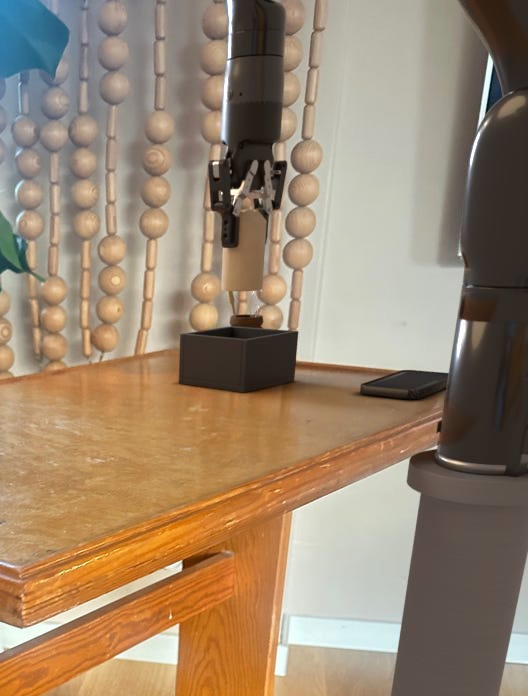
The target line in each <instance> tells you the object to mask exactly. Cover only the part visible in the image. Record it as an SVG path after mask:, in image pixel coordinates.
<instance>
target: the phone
mask: <svg viewBox="0 0 528 696" xmlns="http://www.w3.org/2000/svg"><path fill="white" fill-rule="evenodd" d="M448 374H449V372H442V371H430V370H429V371H428V370H417V369H401V370H399V371H396V372H393V373H390V374H387V375H383V376H380V377H378V378H375V379H371V380H369V381H367V382H366V381H365V382H363V383H361V384H360V388H359V394H360V395H365V396H366V395H367V396H376V397H385V398H395V399H405V400H418V399H422V398H424V397H426V396H429V395H431V394H434V393H436V392H439V391H441V390H444V389H446V387H447V380H448Z"/></svg>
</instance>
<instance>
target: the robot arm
mask: <svg viewBox="0 0 528 696" xmlns="http://www.w3.org/2000/svg"><path fill="white" fill-rule="evenodd" d="M456 2H457V4H458V5H459V7H460V8H461V10H462V12H463V13H464V15H465V17H466V18H467V20H468V22H469V23H470V24H471V26H472V28H473V29H474V31H475V32H476V34H477V36H478V37H479V38H480V40H481V42H482V44H483V45H484V47H485V49H486V50H487V53H488V54H489V56H490V58H491V61H492V63H493V66H494V69H495V71H496V75H497V78H498V81H499V85H500V89H501V95H502V97H501V98H500V99H498V100H497V101H496V102H495V103H494V104H493V105H492V106H491V107H490V108H489V110H488V111H487V112H486V113H485V115H484V116H483V118H482V119H481V122H480V123H479V126H478V128H477V130H476V133H475V135H474V138H473V141H472V143H471V147H470V153H469V157H468V163H467V169H466V178H465V186H464V196H463V203H462V213H461V215H462V216H461V225H460V232H459V233H460V234H459V250H460V255H461V258H462V262H463V275H462V282H461V283H462V285H461V288H460V289H461V290H460V297H459V302H458V310H457V317H456V323H455V328H454V330H455V331H454V336H453V341H452V348H451V354H450V355H451V356H450V360H449V361H450V362H449V368H448V373H449V374H448V380H447V387H446V388H445V393H444V394H445V395H444V401H443V408H442V413H441V420H439V421H437V425H436V426H437V427H436V434H438V439H437V443H436V444H437V446H436V448H435V449H436V453H435V460H434V461H435V463H436V464H438V465H439V466H441V467H443V468H446V469H449V470H453V471H457V472H463V473H469V474H477V475H494V476H509V477H519V476H521V475H524V474H526V473H528V0H456ZM224 4H225V9H226V10H225V11H226V19H227V41H226V42H227V43H226V62H225V69H224V70H225V72H224V76H223V83H222V84H223V85H222V101H221V102H222V106H221V124H220V125H221V127H220V143H221V144H222V145H223V146H226V150H225V154H224V157H223V158H220V159H210V160H209V161H208V163H207V165H208V166H207V168H208V169H207V170H208V171H207V173H208V187H209V203H210V210H211V211H212V212H216V213H218V214H219V216H220V217H221V228H220V230H221V232H220V242H221V247H222V249H223V248H236V247H237V246H238V239H239V221H240V217H236V216H238V215H239V213H240V211H241V209H242V206H243V203H244V200H246V199H248V200H249V201H250V206H251V210H256V209H258V210H259V212H260V213H261V215H262V216H263V217H264V218H265V220H266V221H267V223H266V239H265V246H266V245H267V241H268V235H269V234H268V233H269V220H270V219H269V218H270V216H271V215H272V214H273V211H275V210H280V208H281V207H282V201H283V200H282V199H283V194H284V188H285V182H286V177H287V170H288V161H287V160H286V159H285V160H281V159H279V160H278V159H275V157H274V152H273V146H274V144H277V143H279V142H280V140H281V137H282V136H281V135H282V121H283V108H284V91H285V58H284V57H285V51H286V50H285V49H286V36H287V35H286V34H287V33H286V32H287V19H288V18H287V9H286V7H285V5H284V4H283V3H281V2H279V1H277V0H224ZM220 192H221V193H220ZM273 192H274V193H273ZM220 194H221V199H222V200H220ZM273 194H274V195H273ZM272 195H273V199H272ZM260 199H261V201H260ZM232 201H233V203H232Z"/></svg>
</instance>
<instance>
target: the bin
mask: <svg viewBox="0 0 528 696" xmlns="http://www.w3.org/2000/svg"><path fill="white" fill-rule="evenodd" d="M298 342H299V331H298V330H288V329H287V330H286V329H276V328H275V329H274V328H251V327H239V326H231V325H229V326H222V327H216V328H211V329H209V328H208V329H203V330H197V331H190V332H184V333H180V334H179V355H178V357H179V359H178V360H179V361H178V384H180V385H185V386H186V385H187V386H193V387H194V386H195V387H201V388H209V389H214V390H222V391H223V390H224V391H228V392H229V391H230V392H237V393H243V394H245V393H248V392H253V391H258V390H261V389H266V388H271V387H275V386H279V385H280V386H281V385H283V384H287V383H292V382H293V383H294V382H295V376H296V367H297V366H296V365H297V353H298Z"/></svg>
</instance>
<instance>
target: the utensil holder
mask: <svg viewBox="0 0 528 696" xmlns="http://www.w3.org/2000/svg"><path fill="white" fill-rule="evenodd" d="M227 292H228V299H229V304H230V305H231V310H232V315H231V316H230V318H229V326H239V327H251V328H263V326H262V325H263V324H264V316H263V315H262V313H263V311H264V309H265V307H266V303H267V301H264V299H265V300H267V298H268V296H267V292H266V291H265V289H263V288H262V289H261V290H257V292H258V293H257V296H255V295H256V292H253V293H252V296H251V299H250V303H249V305H252V303H257V302H258V301H257V300H254V301H253V298H254V296H255V298H254V299H258V298H259V295H260V292H265V297H264V299H260V300H259V302H263V301H264V303H259V304H258V308H257V309H259V310H256V309H253V312H255V311H256V314H253V313H252V310H251V309H252V308H255V307H256V306H257V304H253V306H252V308H251V307H249V314H237V313H236V308H235V296H234V291H227ZM260 298H263V294H261V295H260ZM260 304H261V305H260ZM262 305H263V307H260V306H262ZM261 308H262V309H261ZM263 329H264V328H263Z"/></svg>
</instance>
